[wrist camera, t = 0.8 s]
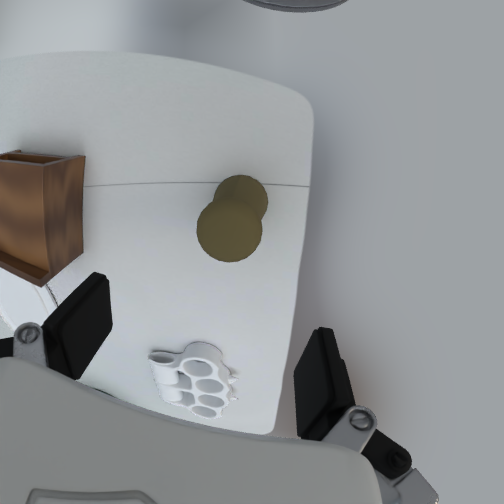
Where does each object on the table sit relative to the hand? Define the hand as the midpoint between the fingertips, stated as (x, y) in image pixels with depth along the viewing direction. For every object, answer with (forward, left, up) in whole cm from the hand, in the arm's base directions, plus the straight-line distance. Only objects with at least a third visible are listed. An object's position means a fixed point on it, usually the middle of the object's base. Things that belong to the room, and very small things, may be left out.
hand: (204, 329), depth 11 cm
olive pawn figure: (0, -1, -21) cm, 21 cm away
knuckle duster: (+31, -2, -21) cm, 37 cm away
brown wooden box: (+5, -30, -21) cm, 36 cm away
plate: (+29, -43, -21) cm, 55 cm away
